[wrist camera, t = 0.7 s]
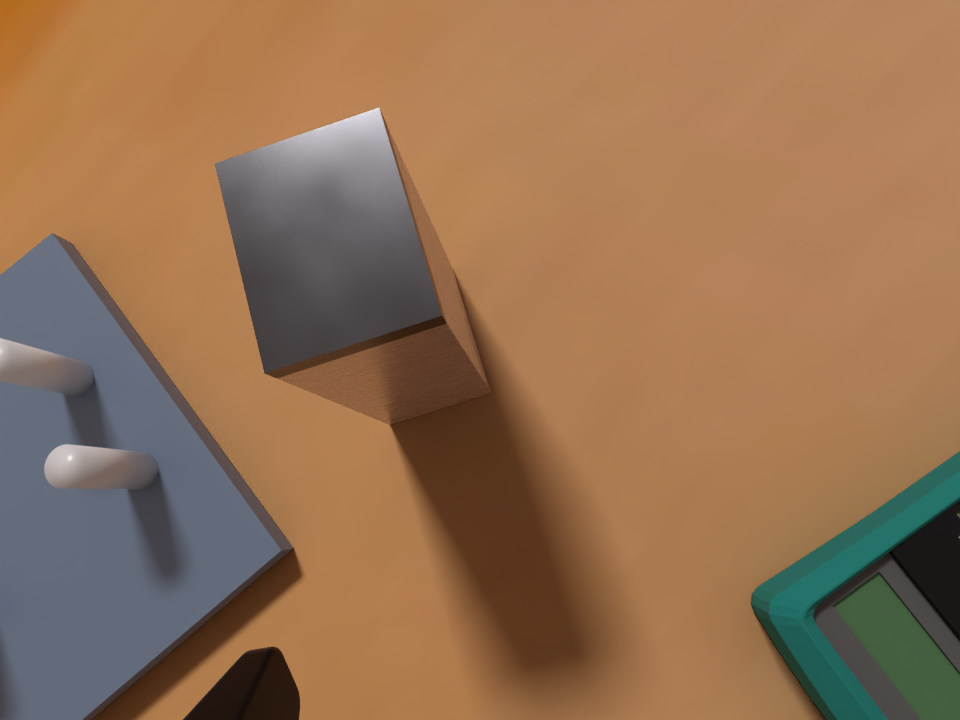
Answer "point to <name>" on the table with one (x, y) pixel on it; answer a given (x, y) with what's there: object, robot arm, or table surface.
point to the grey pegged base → (103, 499)
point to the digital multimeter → (878, 609)
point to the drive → (349, 273)
